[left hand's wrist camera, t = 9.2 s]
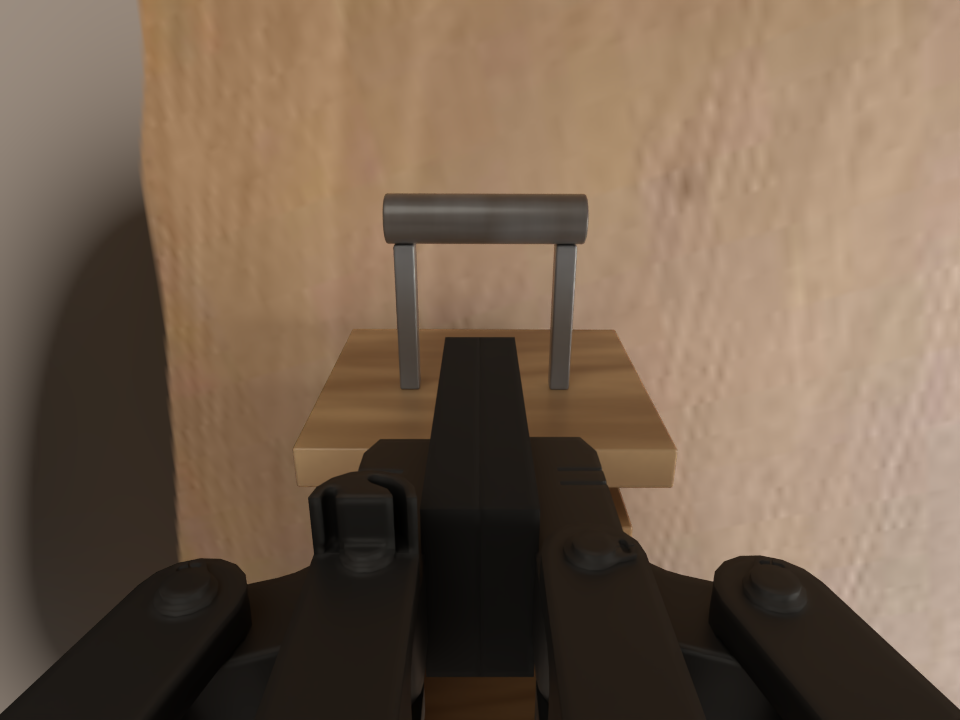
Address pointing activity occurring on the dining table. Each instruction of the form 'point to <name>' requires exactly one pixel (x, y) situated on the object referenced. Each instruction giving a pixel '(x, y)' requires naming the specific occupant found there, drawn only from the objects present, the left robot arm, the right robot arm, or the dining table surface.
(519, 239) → the drawer
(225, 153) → the dining table surface
